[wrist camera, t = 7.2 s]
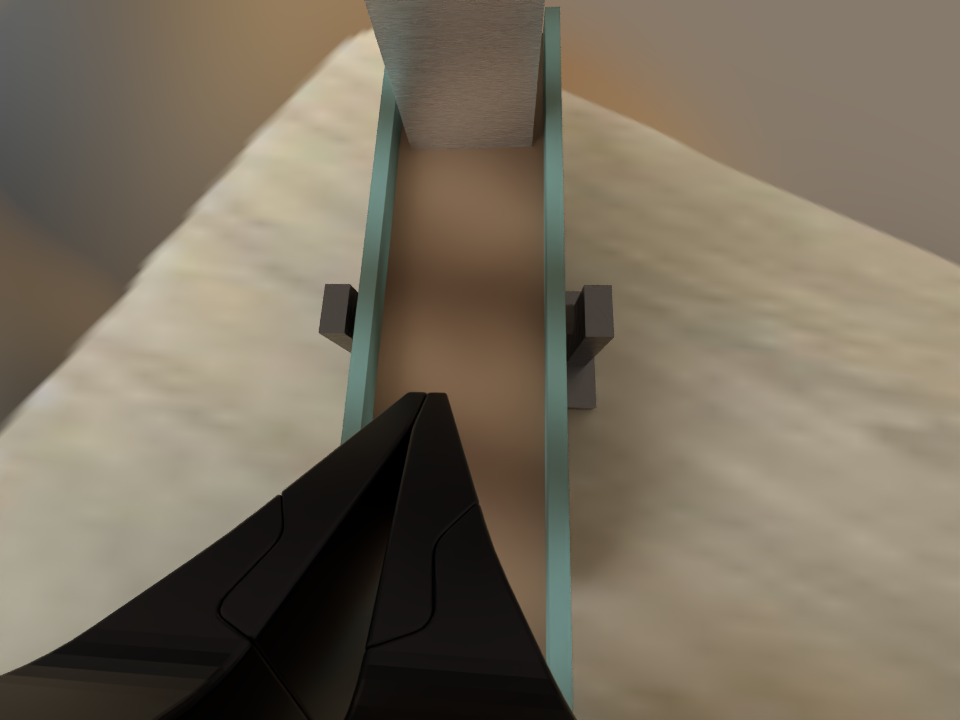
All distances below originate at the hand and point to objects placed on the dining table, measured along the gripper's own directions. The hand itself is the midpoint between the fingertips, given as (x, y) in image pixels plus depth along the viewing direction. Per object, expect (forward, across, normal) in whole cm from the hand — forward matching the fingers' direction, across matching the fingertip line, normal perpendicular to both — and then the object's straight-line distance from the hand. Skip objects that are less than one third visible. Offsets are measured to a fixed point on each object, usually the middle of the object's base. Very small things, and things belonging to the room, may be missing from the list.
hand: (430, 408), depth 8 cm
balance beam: (+9, 0, +3) cm, 10 cm away
